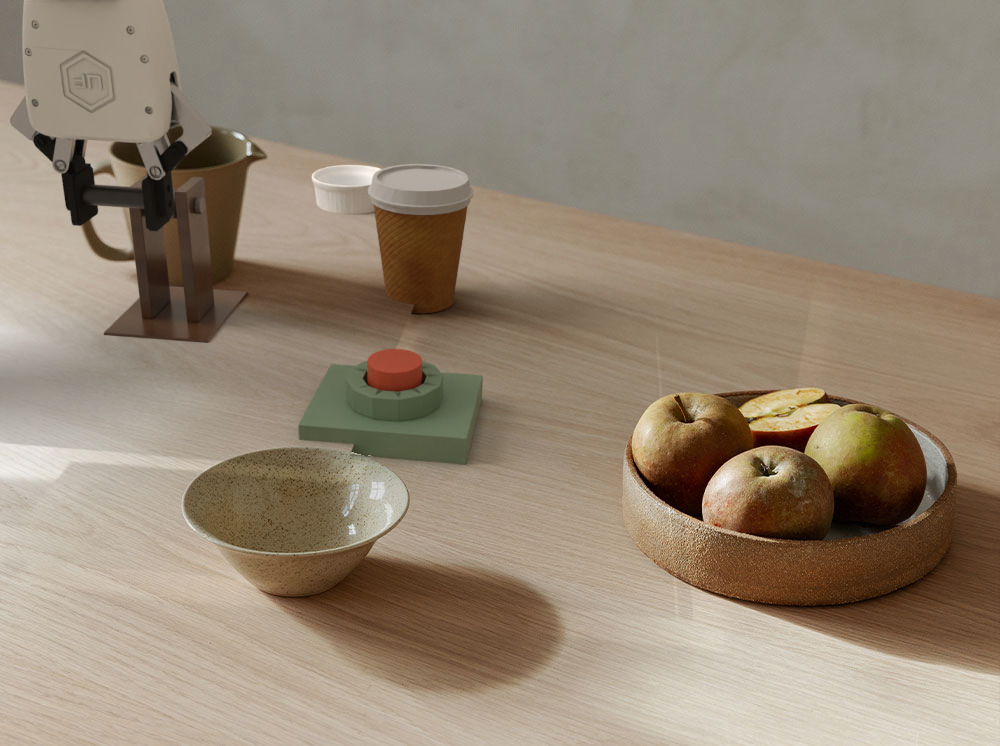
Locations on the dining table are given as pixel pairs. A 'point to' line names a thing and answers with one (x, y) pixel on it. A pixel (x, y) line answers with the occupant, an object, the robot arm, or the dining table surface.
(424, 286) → the disposable coffee cup
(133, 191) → the lever
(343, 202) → the ramekin
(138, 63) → the robot arm
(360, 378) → the button box
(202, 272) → the bracket
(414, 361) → the button
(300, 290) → the dining table surface
